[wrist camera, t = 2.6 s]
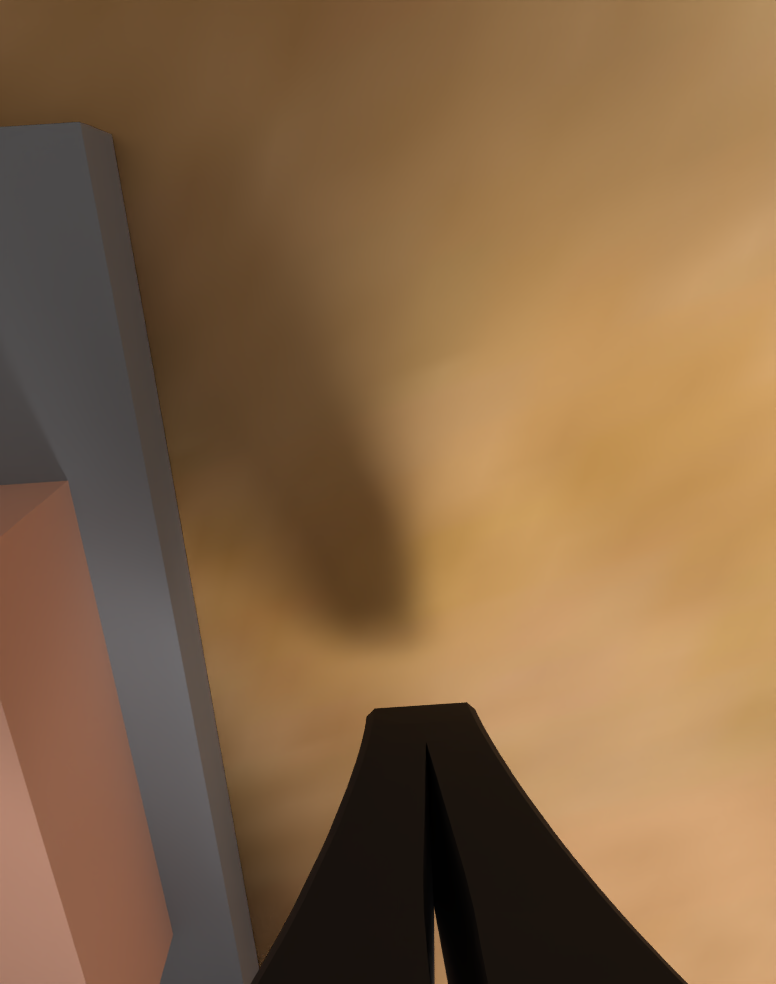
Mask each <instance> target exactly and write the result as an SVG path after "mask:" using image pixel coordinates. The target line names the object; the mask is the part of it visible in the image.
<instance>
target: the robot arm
mask: <svg viewBox="0 0 776 984" xmlns="http://www.w3.org/2000/svg"><path fill="white" fill-rule="evenodd" d="M434 909H435V914H436V920H437V925H438V931H439V936H440V942H441V947H442V953H443V958H444V964H445V969H446V975H447V980H448V984H688V983H687V982H686V981H685V980H684V979H683V978H682V977H681V976H680V975H679V974H678V973H677V972H676V971H675V970H674V969H673V968H672V967H671V966H670V965H669V964H668V963H667V962H666V961H665V960H664V959H663V958H662V957H661V956H660V955H659V954H658V953H657V951H656V950H655V949H654V948H653V947H652V946H651V945H650V944H649V943H648V942H647V941H646V940H645V939H644V938H643V937H642V936H641V934H640V933H639V932H638V931H637V930H636V929H635V928H634V927H633V926H632V925H631V924H630V922H629V921H628V920H627V919H626V918H625V917H624V916H623V915H622V914H621V912H620V911H619V910H618V909H617V908H616V907H615V906H614V904H613V903H612V902H611V901H610V900H609V899H608V898H607V896H606V895H605V894H604V893H603V892H602V891H601V889H600V888H599V887H598V886H597V885H596V883H595V882H594V881H593V880H592V879H591V877H590V876H589V875H588V874H587V872H586V871H585V870H584V869H583V868H582V866H581V865H580V864H579V863H578V862H577V860H576V859H575V858H574V857H573V855H572V854H571V853H570V852H569V850H568V849H567V848H566V847H565V845H564V844H563V843H562V841H561V840H560V839H559V838H558V836H557V835H556V834H555V832H554V831H553V830H552V828H551V827H550V826H549V824H548V823H547V822H546V820H545V819H544V817H543V816H542V815H541V813H540V812H539V811H538V809H537V808H536V806H535V805H534V804H533V802H532V801H531V800H530V798H529V797H528V795H527V794H526V793H525V791H524V790H523V788H522V787H521V786H520V784H519V783H518V781H517V780H516V778H515V777H514V775H513V774H512V772H511V771H510V769H509V768H508V766H507V764H506V763H505V761H504V760H503V758H502V757H501V755H500V754H499V752H498V750H497V749H496V747H495V745H494V744H493V742H492V740H491V739H490V737H489V735H488V733H487V732H486V730H485V728H484V726H483V724H482V723H481V721H480V719H479V717H478V715H477V713H476V710H475V709H474V708H473V707H472V706H470V705H469V704H468V703H467V702H466V703H451V704H436V705H421V706H406V707H391V708H377V709H374V710H373V711H372V712H371V713H370V714H369V715H368V716H367V718H366V725H365V731H364V735H363V739H362V743H361V747H360V750H359V754H358V757H357V760H356V763H355V766H354V769H353V772H352V775H351V778H350V781H349V784H348V787H347V789H346V792H345V794H344V797H343V799H342V802H341V804H340V807H339V809H338V811H337V814H336V816H335V819H334V821H333V824H332V826H331V829H330V831H329V834H328V836H327V838H326V841H325V843H324V845H323V847H322V849H321V851H320V853H319V855H318V858H317V860H316V862H315V864H314V866H313V868H312V870H311V872H310V874H309V876H308V878H307V880H306V882H305V885H304V887H303V889H302V891H301V893H300V895H299V897H298V899H297V901H296V903H295V905H294V907H293V909H292V911H291V913H290V915H289V916H288V918H287V920H286V922H285V924H284V926H283V928H282V930H281V931H280V933H279V935H278V937H277V939H276V940H275V942H274V944H273V946H272V948H271V949H270V951H269V953H268V955H267V956H266V958H265V960H264V962H263V963H262V965H261V967H260V968H259V970H258V972H257V974H256V975H255V977H254V979H253V980H252V982H251V984H435V982H434Z"/></svg>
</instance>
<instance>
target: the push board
mask: <svg viewBox="0 0 776 984" xmlns="http://www.w3.org/2000/svg"><path fill="white" fill-rule="evenodd" d="M55 481H68V483H69V487H70V491H71V496H72V500H73V504H74V509H75V513H76V517H77V522H78V526H79V530H80V535H81V539H82V543H83V548H84V552H85V556H86V560H87V565H88V569H89V573H90V578H91V582H92V586H93V591H94V595H95V599H96V604H97V608H98V612H99V617H100V621H101V625H102V630H103V634H104V638H105V642H106V647H107V651H108V655H109V660H110V664H111V668H112V673H113V677H114V681H115V686H116V690H117V694H118V699H119V703H120V707H121V712H122V716H123V720H124V724H125V729H126V733H127V737H128V742H129V746H130V750H131V755H132V759H133V763H134V768H135V772H136V776H137V781H138V785H139V789H140V794H141V798H142V802H143V807H144V811H145V815H146V819H147V824H148V828H149V832H150V837H151V841H152V845H153V850H154V854H155V858H156V863H157V867H158V871H159V876H160V880H161V884H162V889H163V893H164V897H165V901H166V906H167V910H168V914H169V919H170V923H171V927H172V932H173V937H172V940H171V944H170V948H169V951H168V955H167V959H166V962H165V966H164V970H163V973H162V977H161V980H160V984H251V982H252V980H253V979H254V977H255V975H256V974H257V972H258V970H259V965H258V959H257V954H256V948H255V942H254V937H253V931H252V925H251V920H250V914H249V908H248V903H247V897H246V891H245V886H244V880H243V874H242V869H241V863H240V857H239V852H238V846H237V840H236V835H235V829H234V823H233V818H232V812H231V806H230V801H229V795H228V789H227V784H226V778H225V772H224V767H223V761H222V755H221V750H220V744H219V738H218V733H217V727H216V721H215V716H214V710H213V704H212V699H211V693H210V687H209V682H208V676H207V671H206V665H205V659H204V654H203V648H202V642H201V637H200V631H199V625H198V620H197V614H196V608H195V603H194V597H193V591H192V586H191V580H190V574H189V569H188V563H187V557H186V552H185V546H184V540H183V535H182V529H181V523H180V518H179V512H178V506H177V501H176V495H175V489H174V484H173V478H172V472H171V467H170V461H169V455H168V450H167V444H166V438H165V433H164V427H163V421H162V416H161V410H160V404H159V399H158V393H157V387H156V382H155V376H154V370H153V365H152V359H151V353H150V348H149V342H148V337H147V331H146V325H145V320H144V314H143V308H142V303H141V297H140V291H139V286H138V280H137V274H136V269H135V263H134V257H133V252H132V246H131V240H130V235H129V229H128V223H127V218H126V212H125V206H124V201H123V195H122V189H121V184H120V178H119V172H118V167H117V161H116V155H115V150H114V144H113V138H112V134H109V133H107V132H104V131H102V130H99V129H97V128H94V127H92V126H89V125H87V124H84V123H81V122H71V123H55V124H40V125H24V126H8V127H0V485H10V484H25V483H40V482H55Z"/></svg>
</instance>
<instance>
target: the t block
mask: <svg viewBox="0 0 776 984" xmlns="http://www.w3.org/2000/svg"><path fill="white" fill-rule="evenodd" d="M172 937H173V932H172V927H171V923H170V919H169V914H168V910H167V906H166V901H165V897H164V893H163V889H162V884H161V880H160V876H159V871H158V867H157V863H156V858H155V854H154V850H153V845H152V841H151V837H150V832H149V828H148V824H147V819H146V815H145V811H144V807H143V802H142V798H141V794H140V789H139V785H138V781H137V776H136V772H135V768H134V763H133V759H132V755H131V750H130V746H129V742H128V737H127V733H126V729H125V724H124V720H123V716H122V712H121V707H120V703H119V699H118V694H117V690H116V686H115V681H114V677H113V673H112V668H111V664H110V660H109V655H108V651H107V647H106V642H105V638H104V634H103V630H102V625H101V621H100V617H99V612H98V608H97V604H96V599H95V595H94V591H93V586H92V582H91V578H90V573H89V569H88V565H87V560H86V556H85V552H84V548H83V543H82V539H81V535H80V530H79V526H78V522H77V517H76V513H75V509H74V504H73V500H72V496H71V491H70V487H69V483H68V481H55V482H40V483H25V484H10V485H0V984H160V980H161V977H162V973H163V970H164V966H165V962H166V959H167V955H168V951H169V948H170V944H171V940H172Z"/></svg>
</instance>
